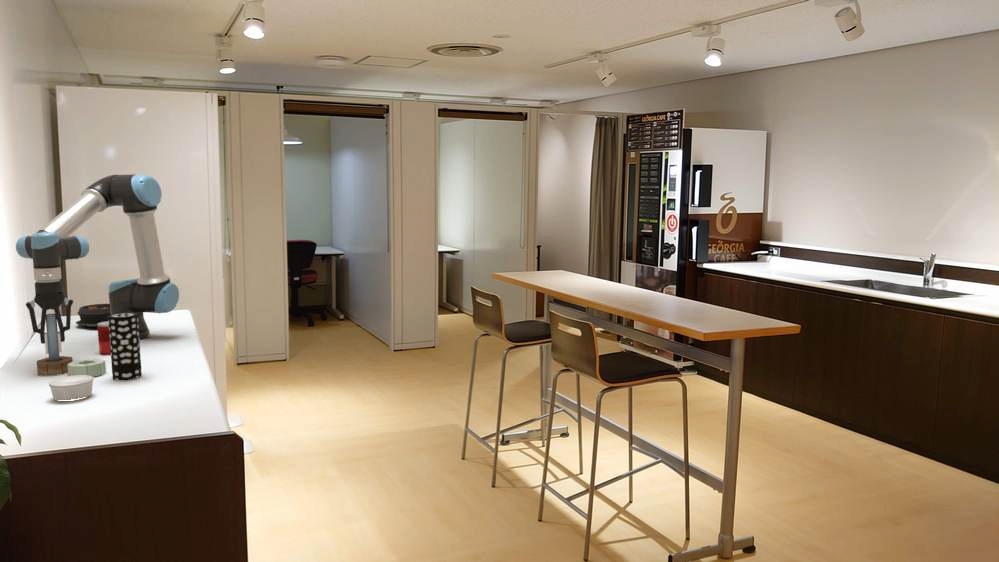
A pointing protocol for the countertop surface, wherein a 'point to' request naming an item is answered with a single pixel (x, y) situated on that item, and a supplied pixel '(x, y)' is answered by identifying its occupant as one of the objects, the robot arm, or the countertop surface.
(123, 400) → the countertop surface
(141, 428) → the countertop surface
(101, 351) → the canned food
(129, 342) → the spotted tube
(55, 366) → the walnut bead
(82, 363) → the sage bead
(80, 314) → the casserole
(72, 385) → the ramekin
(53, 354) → the dowel
